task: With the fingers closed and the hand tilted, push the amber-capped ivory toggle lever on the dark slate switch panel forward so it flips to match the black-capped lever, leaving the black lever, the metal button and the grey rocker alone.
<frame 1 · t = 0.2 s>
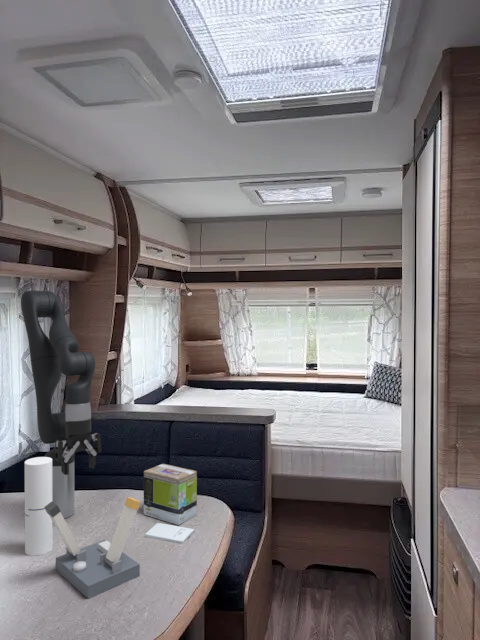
hand: (79, 471, 148), 18 cm above the table, tool pointing down, fingers open, 8 cm apart
black lever: (64, 530, 124), point 11 cm above the table, hinge at 25.0°
cylindrical container: (38, 549, 137), on the table
amber lever: (122, 531, 124), point 11 cm above the table, hinge at -25.0°
switch panel: (97, 572, 125), on the table
external hard drive: (170, 536, 146), on the table
tea box: (170, 515, 160), on the table
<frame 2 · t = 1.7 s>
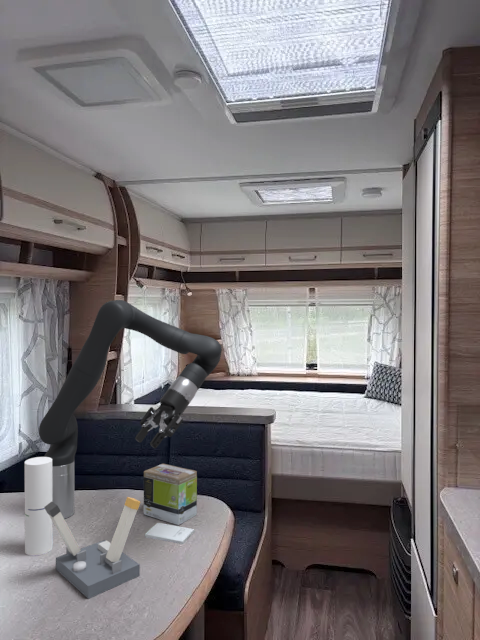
hand: (145, 443, 134), 31 cm above the table, tool tilted 45°, fingers open, 7 cm apart
nothing on the table moved.
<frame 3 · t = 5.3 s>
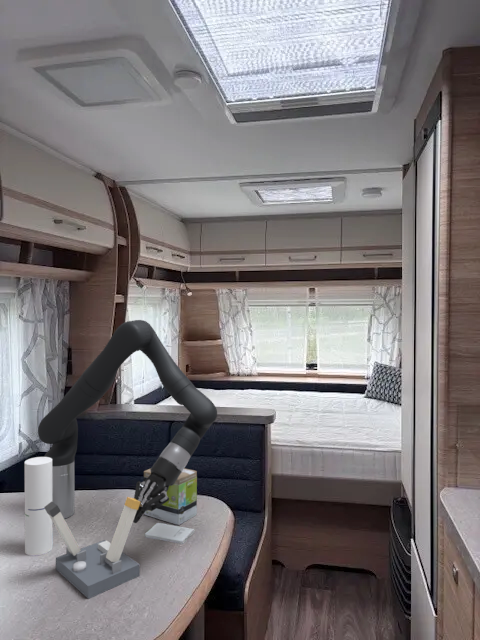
hand: (132, 520, 126), 13 cm above the table, tool tilted 45°, fingers closed
amber lever: (122, 531, 124), point 11 cm above the table, hinge at -25.0°, touching gripper
everything else where it was.
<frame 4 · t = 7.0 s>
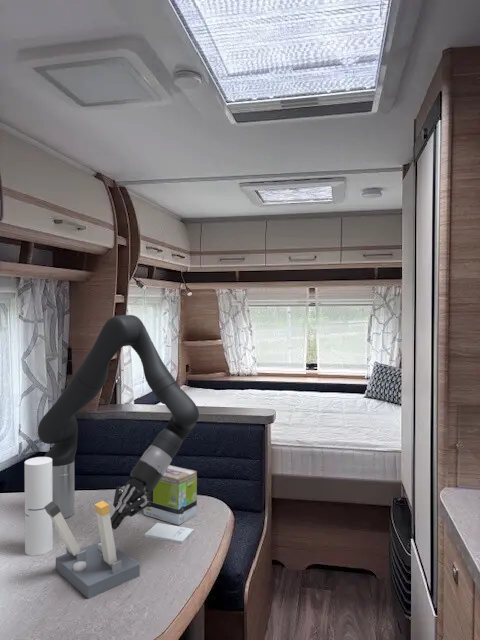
hand: (111, 527, 122), 13 cm above the table, tool tilted 45°, fingers closed
amber lever: (106, 535, 121), point 12 cm above the table, hinge at 9.1°, touching gripper
everything else where it was.
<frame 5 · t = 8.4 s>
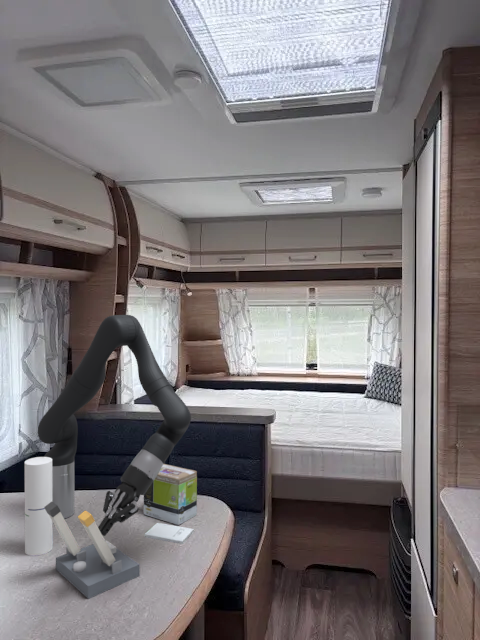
hand: (100, 533, 120), 13 cm above the table, tool tilted 45°, fingers closed
amber lever: (98, 540, 119), point 11 cm above the table, hinge at 26.2°, touching gripper
everything else where it was.
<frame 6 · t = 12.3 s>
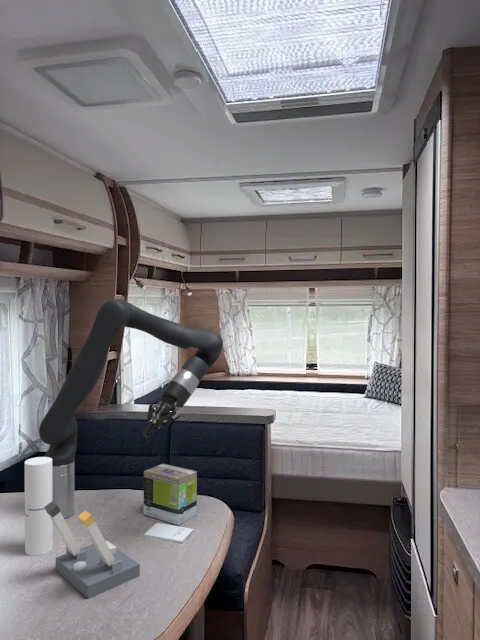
hand: (145, 436, 137), 32 cm above the table, tool tilted 45°, fingers closed
amber lever: (98, 540, 119), point 11 cm above the table, hinge at 26.3°
everything else where it was.
at the end: amber lever at +26° (first picture: -25°); black lever at +25° (first picture: +25°) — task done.
